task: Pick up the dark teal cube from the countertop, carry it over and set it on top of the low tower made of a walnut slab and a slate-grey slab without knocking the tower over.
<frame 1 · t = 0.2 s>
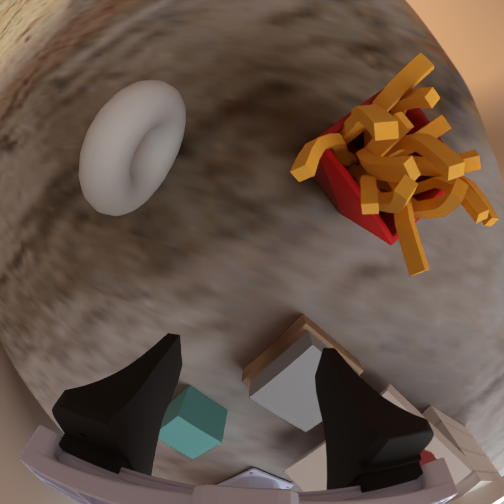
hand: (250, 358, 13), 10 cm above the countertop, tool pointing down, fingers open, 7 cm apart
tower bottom: (301, 363, 25), on the countertop
donut: (162, 158, 22), on the countertop
stacked pizza boxes: (395, 444, 27), on the countertop
tower top: (305, 377, 23), point 2 cm above the countertop
french fries: (340, 188, 22), on the countertop
teal cube: (195, 408, 26), on the countertop
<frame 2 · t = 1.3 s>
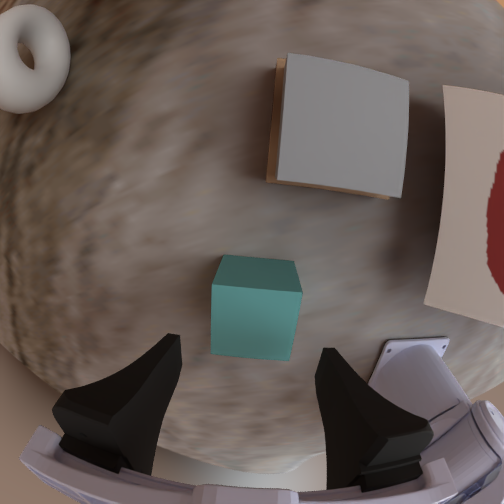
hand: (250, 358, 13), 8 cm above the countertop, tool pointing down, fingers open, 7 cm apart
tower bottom: (328, 130, 17), on the countertop, touching tower top
donut: (64, 67, 15), on the countertop
tower top: (337, 128, 15), point 2 cm above the countertop, touching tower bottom
teal cube: (255, 289, 21), on the countertop
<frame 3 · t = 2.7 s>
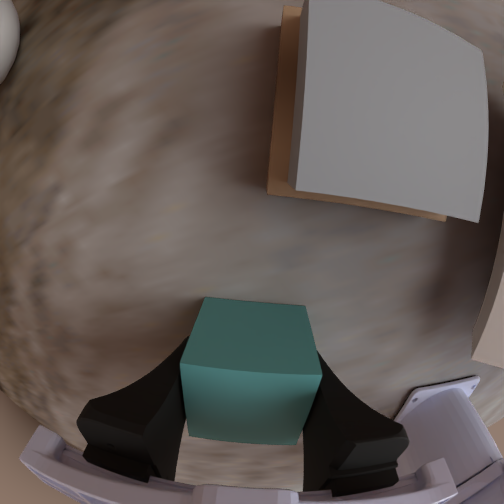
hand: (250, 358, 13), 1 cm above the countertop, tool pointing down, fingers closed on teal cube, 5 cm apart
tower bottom: (359, 116, 11), on the countertop, touching tower top
donut: (15, 52, 9), on the countertop
tower top: (384, 108, 9), point 2 cm above the countertop, touching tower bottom
teal cube: (251, 341, 14), on the countertop, touching gripper
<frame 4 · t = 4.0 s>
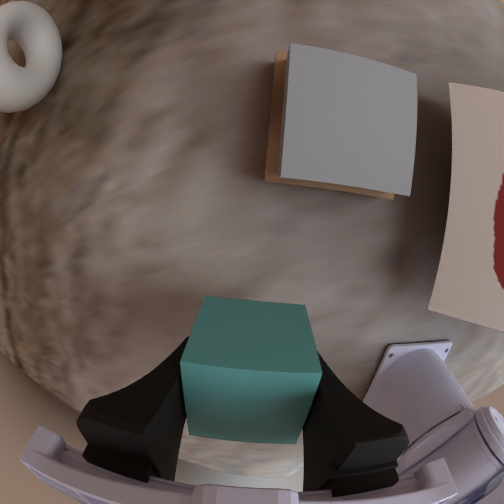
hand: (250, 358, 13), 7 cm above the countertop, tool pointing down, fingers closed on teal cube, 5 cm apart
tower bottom: (330, 127, 16), on the countertop, touching tower top
donut: (56, 64, 14), on the countertop
tower top: (342, 123, 14), point 2 cm above the countertop, touching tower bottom
teal cube: (251, 340, 14), point 5 cm above the countertop, touching gripper
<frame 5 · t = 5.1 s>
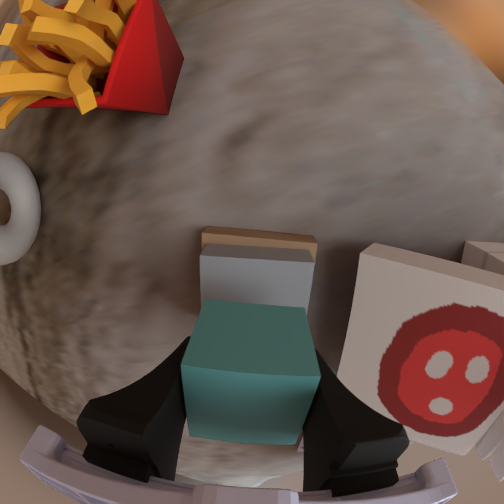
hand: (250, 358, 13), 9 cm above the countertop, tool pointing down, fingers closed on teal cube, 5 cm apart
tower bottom: (255, 276, 22), on the countertop, touching tower top
donut: (37, 195, 20), on the countertop
stacked pizza boxes: (458, 309, 23), on the countertop
tower top: (255, 292, 20), point 2 cm above the countertop, touching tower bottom
french fries: (154, 96, 18), on the countertop
teal cube: (251, 342, 14), point 8 cm above the countertop, touching gripper
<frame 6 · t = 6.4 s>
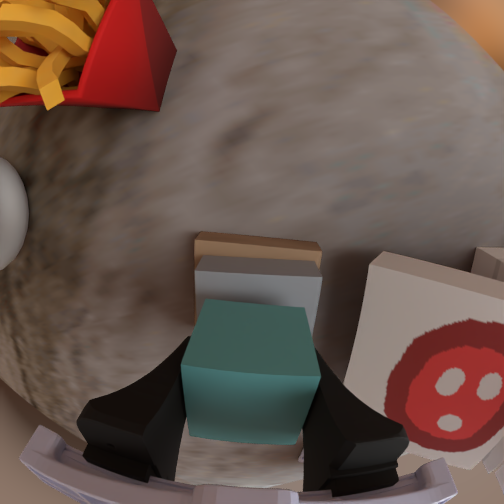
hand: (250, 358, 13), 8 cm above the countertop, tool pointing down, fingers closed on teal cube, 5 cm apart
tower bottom: (254, 286, 21), on the countertop
donut: (25, 199, 19), on the countertop
stacked pizza boxes: (467, 318, 21), on the countertop
tower top: (256, 307, 18), point 2 cm above the countertop
french fries: (144, 92, 16), on the countertop
teal cube: (251, 342, 14), point 6 cm above the countertop, touching gripper
when the fingers open (8 cm above the countertop, at t = 6.4 s): teal cube drops 2 cm, resting on tower top.
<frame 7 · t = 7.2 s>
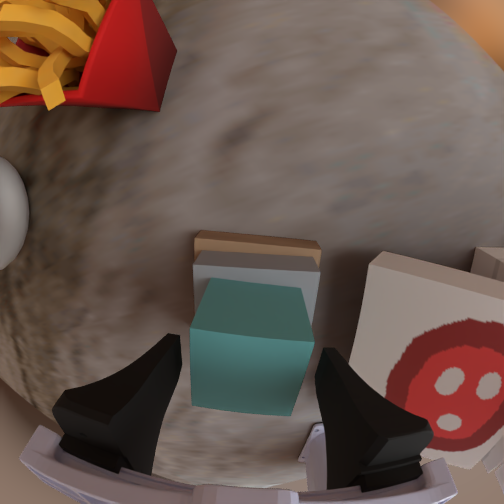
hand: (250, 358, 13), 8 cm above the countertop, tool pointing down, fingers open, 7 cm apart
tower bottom: (253, 284, 21), on the countertop
donut: (25, 199, 19), on the countertop
stacked pizza boxes: (466, 317, 21), on the countertop
tower top: (254, 302, 18), point 2 cm above the countertop, touching teal cube
french fries: (144, 92, 16), on the countertop
teal cube: (251, 320, 16), point 4 cm above the countertop, touching tower top
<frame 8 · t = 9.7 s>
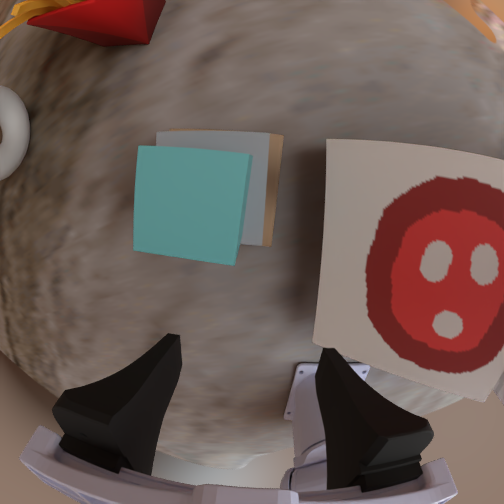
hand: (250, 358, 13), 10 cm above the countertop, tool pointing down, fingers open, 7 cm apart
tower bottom: (224, 183, 21), on the countertop, touching tower top
donut: (27, 130, 19), on the countertop
stacked pizza boxes: (455, 242, 21), on the countertop
tower top: (215, 183, 19), point 2 cm above the countertop, touching teal cube, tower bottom
french fries: (138, 32, 16), on the countertop
teal cube: (206, 191, 16), point 4 cm above the countertop, touching tower top
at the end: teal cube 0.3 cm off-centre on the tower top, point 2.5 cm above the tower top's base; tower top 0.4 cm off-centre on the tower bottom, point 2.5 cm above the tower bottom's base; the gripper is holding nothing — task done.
